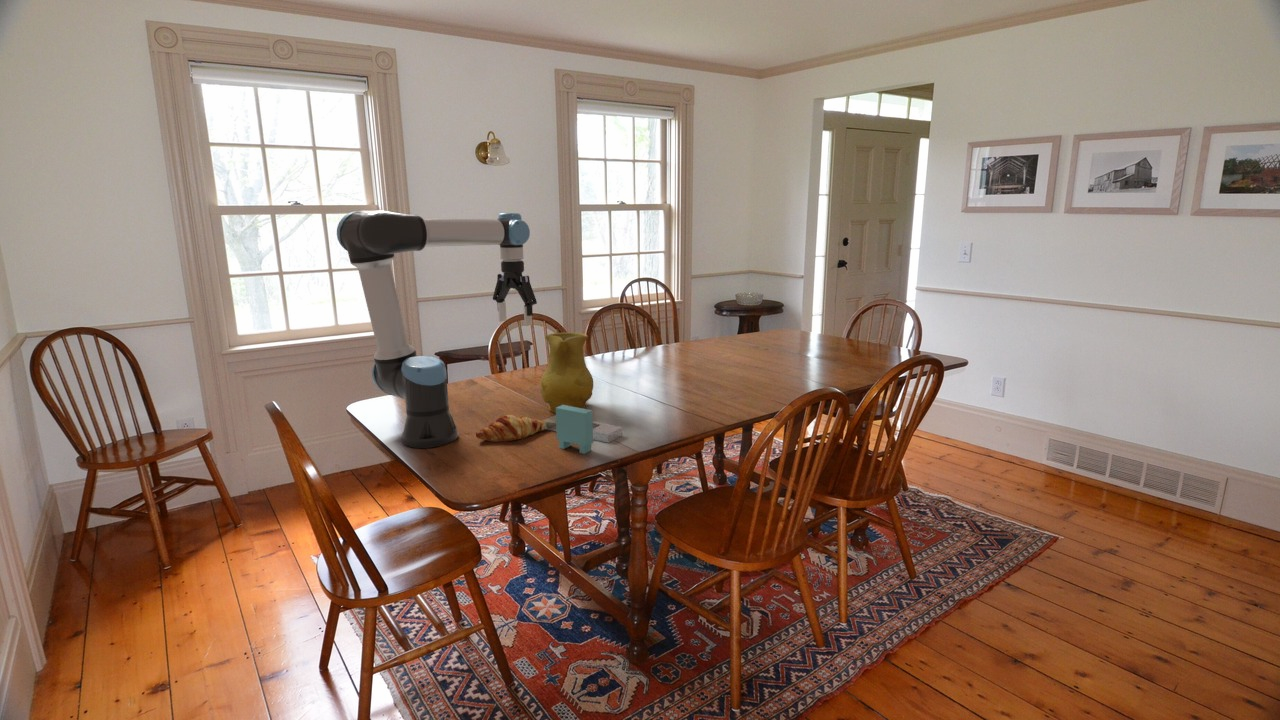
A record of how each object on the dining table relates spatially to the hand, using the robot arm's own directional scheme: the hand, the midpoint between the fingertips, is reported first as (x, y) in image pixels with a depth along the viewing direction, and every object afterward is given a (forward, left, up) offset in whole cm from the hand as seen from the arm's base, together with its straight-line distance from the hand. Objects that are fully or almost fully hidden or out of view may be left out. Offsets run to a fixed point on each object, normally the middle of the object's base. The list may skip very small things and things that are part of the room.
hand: (515, 323), depth 221 cm
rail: (-18, -41, -26) cm, 52 cm away
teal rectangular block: (-30, -48, -26) cm, 62 cm away
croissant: (-31, -26, -27) cm, 48 cm away
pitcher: (-1, -23, -27) cm, 35 cm away
